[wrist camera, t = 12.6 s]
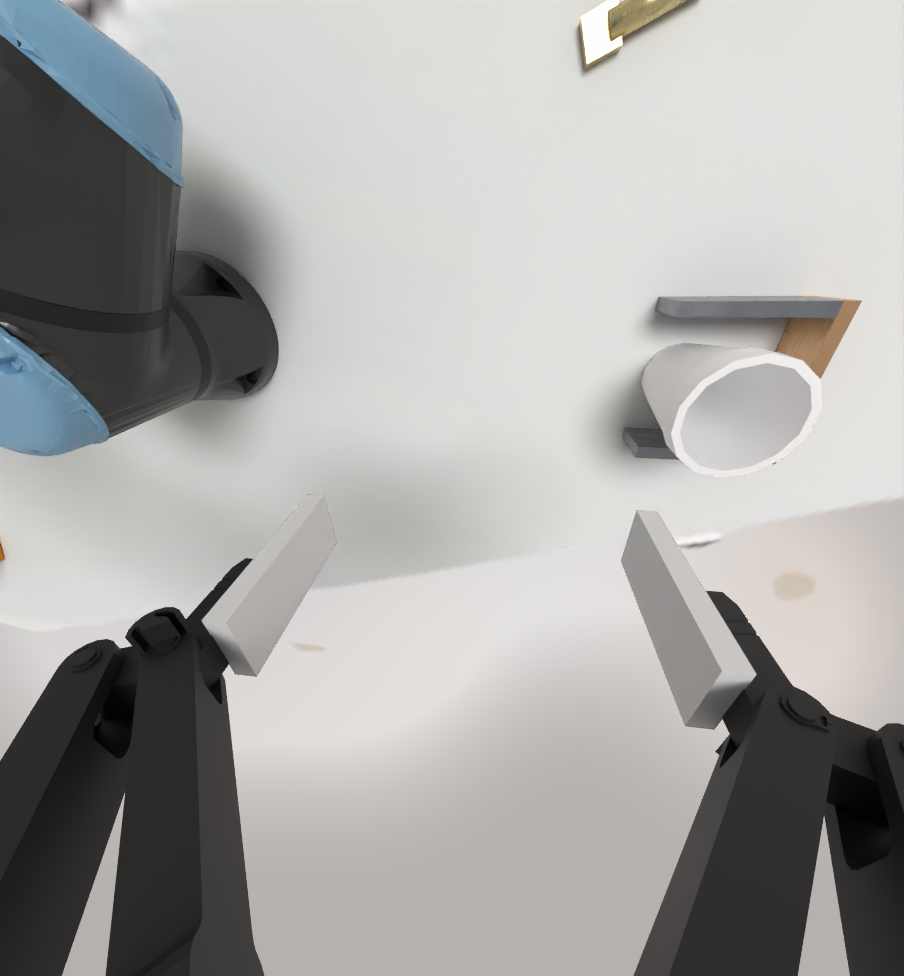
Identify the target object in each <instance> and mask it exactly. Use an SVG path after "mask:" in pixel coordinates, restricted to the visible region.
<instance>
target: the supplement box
mask: <svg viewBox="0 0 904 976" xmlns="http://www.w3.org/2000/svg"><path fill="white" fill-rule="evenodd" d="M2 560H4V556H3V553H2V550H1V546H0V561H2Z"/></svg>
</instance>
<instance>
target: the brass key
mask: <svg viewBox="0 0 904 976" xmlns="http://www.w3.org/2000/svg"><path fill="white" fill-rule="evenodd" d="M686 1H688V0H625V1H623V2H621V3H620V4H619V2H618V0H609V1H607V2H605V3H604V4H602V5H600V6H599V7H597V8H595V9H594V10H592V11H590V12H589V13H587V14H585V15H584V16H582V17H581V19H580V23H579V30H580V37H581V45H582V53H583V60H584V68H585V70H586V69H587V68H589V67H591V66H593V65H595V64H596V63H598V62H600V61H602V60H604V59H605V58H607V57H609V56H611V55H613V54H614V53H616V52H618V51H619V50H620V48H621V46H622V37H624V36H626V35H628V34H630V33H631V32H633V31H635V30H637V29H638V28H640V27H642V26H644V25H645V24H647V23H649V22H651V21H653V20H654V19H656V18H658V17H660V16H661V15H663V14H665V13H667V12H668V11H670V10H672V9H674V8H676V7H677V6H679V5H681V4H683V3H684V2H686Z"/></svg>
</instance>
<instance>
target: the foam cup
mask: <svg viewBox="0 0 904 976" xmlns="http://www.w3.org/2000/svg"><path fill="white" fill-rule="evenodd" d="M641 384H642V387H643V391H644V394H645V397H646V399H647V401H648V403H649V405H650V407H651V409H652V411H653V413H654V415H655V417H656V419H657V421H658V423H659V425H660V427H661V429H662V432H663V435H664V439H665V443H666V445H667V446H668V447H669V448H670V449H671V451H672V452H673V453H674V454H675V455H676V456H677V457H678V458H679V459H680V460H681V461H682V462H683V463H685V464H686V465H687V466H688V467H689V468H690V469H692V470H693V471H694V472H697V473H702V474H706V475H711V476H715V477H719V478H722V477H729V476H736V475H743V474H750V473H753V472H755V471H757V470H759V469H761V468H764V467H766V466H768V465H770V464H772V463H774V462H776V461H779V460H781V459H783V458H784V457H785V456H786V455H787V454H788V453H789V452H790V451H791V450H793V449H794V448H795V447H796V446H797V445H798V444H799V443H800V442H802V441H803V440H804V439H805V438H806V437H807V436H808V435H809V433H810V431H811V429H812V427H813V425H814V423H815V421H816V419H817V417H818V415H819V413H820V412H821V410H822V387H821V380H820V378H819V377H818V376H817V375H816V374H815V373H814V372H813V371H812V370H811V369H810V368H809V367H808V365H807V364H806V363H805V362H804V361H803V360H800V359H797V358H794V357H791V356H788V355H785V354H782V353H778V352H773V351H769V350H764V349H759V348H755V347H747V348H742V349H739V348H730V347H720V346H711V345H701V344H691V343H681V344H676V345H672V346H668V347H666V348H665V349H663V350H662V351H660V352H659V353H657V354H656V355H654V356H653V358H652V359H651V360H650V362H649V363H648V364H647V366H646V367H645V368H644V372H643V376H642V381H641Z"/></svg>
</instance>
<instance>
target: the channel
mask: <svg viewBox="0 0 904 976" xmlns="http://www.w3.org/2000/svg"><path fill="white" fill-rule="evenodd" d="M860 303H861V301H860V300H850V299H840V298H830V297H820V296H725V297H659V299H658V303H657V306H656V310H655V311H657V312H660V313H663V314H667V315H670V316H673V317H763V318H791V319H790V321H789V323H788V326H787V328H786V330H785V332H784V335H783V337H782V339H781V341H780V343H779V346H778V348H777V350H776V352H778V353H782V354H785V355H788V356H791V357H794V358H797V359H800V360H803V361H804V362H805V363H806V364H807V365H808V367H809V368H810V369H811V370H812V371H813V372H814V373H815V374H816V375H817V376H818V377H819V378H820V379H821V377H822V375H823V373H824V371H825V369H826V367H827V365H828V364H829V362H830V360H831V358H832V356H833V354H834V352H835V350H836V349H837V347H838V345H839V343H840V341H841V339H842V337H843V335H844V333H845V332H846V330H847V328H848V326H849V324H850V322H851V320H852V318H853V317H854V315H855V313H856V311H857V309H858V307H859V305H860ZM622 438H623V440H624V441H625V443H626V444H627V446H628V448H629V449H630V451H631V452H632V454H633V455H634V457H638V458H659V459H679V458H678V457H677V456H676V455H675V454H674V453H673V452H672V451H671V449H670V448H669V447H668V446H667V445H666V443H665V439H664V435H663V432H662V429H636V428H625V429H624V433H623V437H622ZM679 460H680V459H679ZM775 463H776V462H774V463H772V464H775Z"/></svg>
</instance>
